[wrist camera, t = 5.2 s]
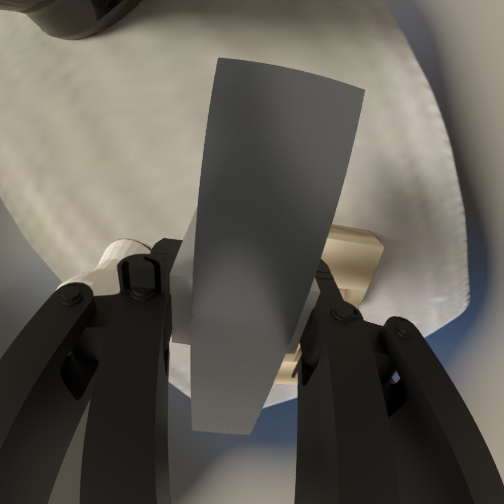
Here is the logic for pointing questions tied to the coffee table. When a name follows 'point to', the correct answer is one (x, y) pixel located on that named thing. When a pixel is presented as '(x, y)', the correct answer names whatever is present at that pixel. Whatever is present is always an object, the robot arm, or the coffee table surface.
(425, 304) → the coffee table surface
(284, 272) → the grey block
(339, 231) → the rail
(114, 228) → the coffee table surface
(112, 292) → the cup
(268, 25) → the coffee table surface
